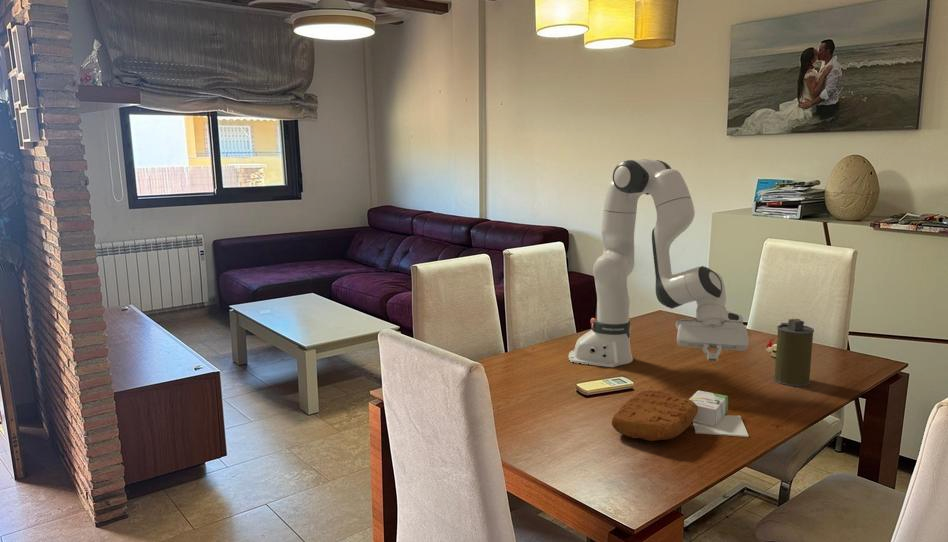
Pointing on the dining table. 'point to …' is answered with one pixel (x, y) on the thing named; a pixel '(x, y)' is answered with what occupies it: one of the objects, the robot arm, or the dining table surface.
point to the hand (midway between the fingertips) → (712, 359)
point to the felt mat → (723, 427)
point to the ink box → (709, 407)
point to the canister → (793, 353)
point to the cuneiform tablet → (654, 416)
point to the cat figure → (772, 348)
